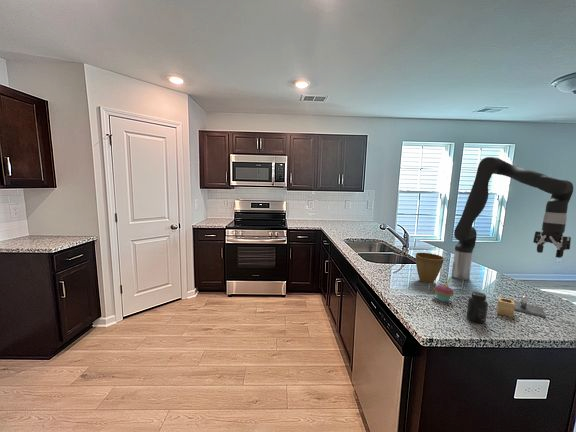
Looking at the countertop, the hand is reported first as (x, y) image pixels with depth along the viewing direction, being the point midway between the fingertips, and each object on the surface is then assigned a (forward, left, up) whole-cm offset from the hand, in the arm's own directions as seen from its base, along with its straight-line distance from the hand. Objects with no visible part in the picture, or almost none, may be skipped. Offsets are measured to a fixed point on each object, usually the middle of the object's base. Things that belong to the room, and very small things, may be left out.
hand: (548, 254), depth 121 cm
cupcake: (-39, -28, -25) cm, 54 cm away
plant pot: (-50, -6, -25) cm, 56 cm away
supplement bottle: (-25, -42, -25) cm, 55 cm away
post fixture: (-8, -13, -25) cm, 29 cm away
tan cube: (-15, -25, -25) cm, 38 cm away
